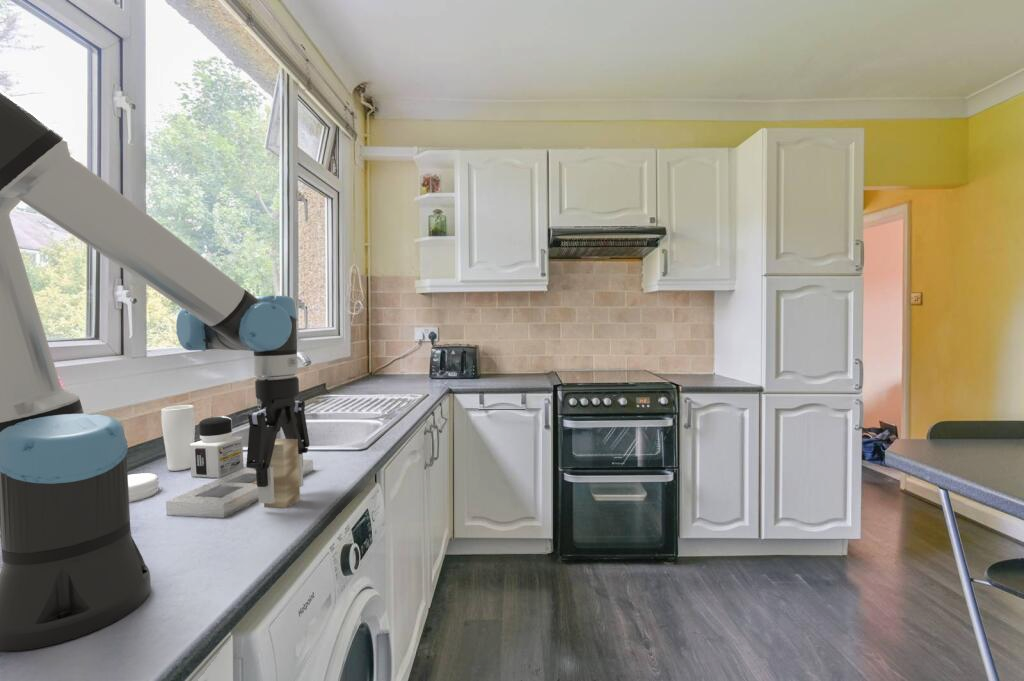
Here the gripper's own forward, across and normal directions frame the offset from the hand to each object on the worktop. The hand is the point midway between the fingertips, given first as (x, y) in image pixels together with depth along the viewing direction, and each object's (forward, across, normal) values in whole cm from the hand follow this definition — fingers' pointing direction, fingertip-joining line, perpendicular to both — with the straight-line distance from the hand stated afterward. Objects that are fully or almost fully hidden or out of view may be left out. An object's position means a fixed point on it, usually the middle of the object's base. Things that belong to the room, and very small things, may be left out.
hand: (282, 493), depth 95 cm
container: (+2, +16, +28) cm, 32 cm away
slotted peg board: (+2, +6, +12) cm, 14 cm away
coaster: (+2, 0, +35) cm, 35 cm away
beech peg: (+2, 0, 0) cm, 2 cm away
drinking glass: (+2, +18, +40) cm, 44 cm away
